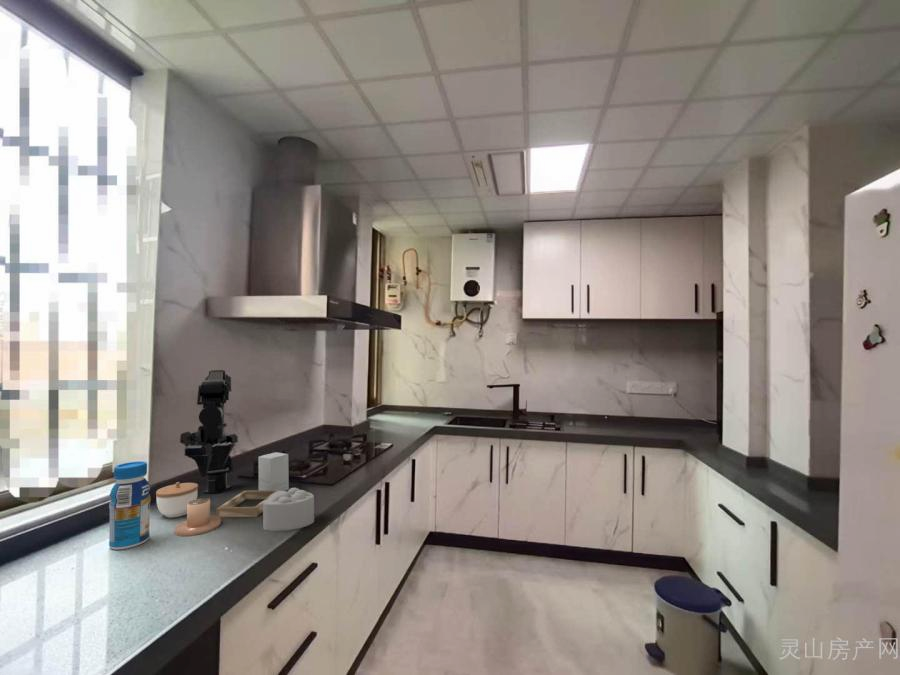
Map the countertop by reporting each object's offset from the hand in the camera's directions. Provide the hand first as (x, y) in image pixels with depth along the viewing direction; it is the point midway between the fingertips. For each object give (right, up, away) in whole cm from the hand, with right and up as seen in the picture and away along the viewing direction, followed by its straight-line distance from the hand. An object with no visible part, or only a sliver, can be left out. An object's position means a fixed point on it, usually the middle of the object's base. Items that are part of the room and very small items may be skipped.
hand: (212, 472), depth 126 cm
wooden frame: (+10, -12, +2) cm, 16 cm away
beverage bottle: (-9, -11, -22) cm, 26 cm away
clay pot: (+3, -10, -12) cm, 16 cm away
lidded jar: (-10, -12, -2) cm, 16 cm away
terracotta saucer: (+3, -11, -13) cm, 17 cm away
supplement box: (+11, -13, +17) cm, 24 cm away
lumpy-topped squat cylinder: (+28, -11, -11) cm, 32 cm away
